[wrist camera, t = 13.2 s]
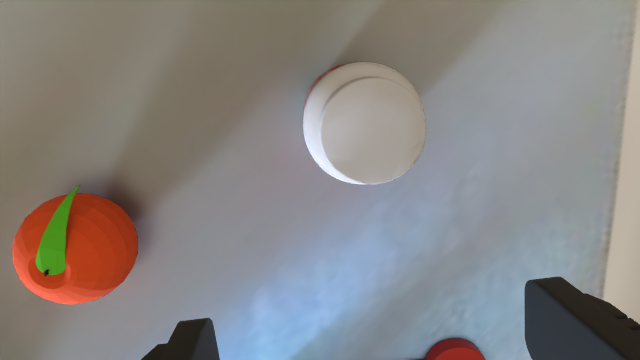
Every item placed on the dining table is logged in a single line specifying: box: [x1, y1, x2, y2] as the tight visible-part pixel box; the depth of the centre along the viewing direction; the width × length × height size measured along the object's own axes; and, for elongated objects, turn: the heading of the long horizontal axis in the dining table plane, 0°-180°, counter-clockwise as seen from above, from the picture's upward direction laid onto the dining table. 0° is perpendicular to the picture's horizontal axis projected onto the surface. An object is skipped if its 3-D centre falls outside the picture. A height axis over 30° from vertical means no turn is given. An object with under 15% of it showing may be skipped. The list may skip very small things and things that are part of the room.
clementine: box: [12, 185, 138, 304], centre depth 27 cm, size 8×7×7 cm
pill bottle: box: [303, 62, 426, 184], centre depth 24 cm, size 6×6×11 cm
